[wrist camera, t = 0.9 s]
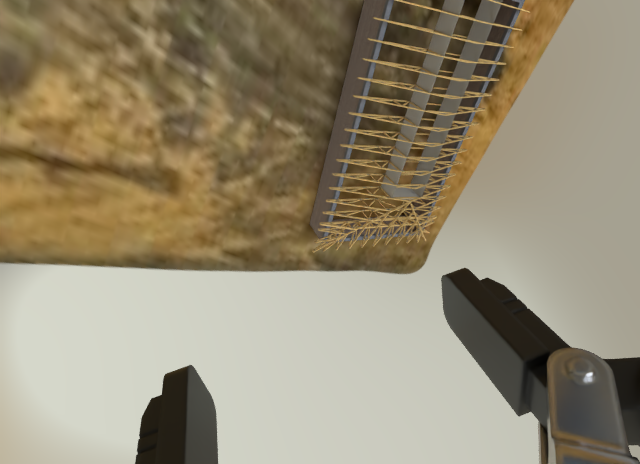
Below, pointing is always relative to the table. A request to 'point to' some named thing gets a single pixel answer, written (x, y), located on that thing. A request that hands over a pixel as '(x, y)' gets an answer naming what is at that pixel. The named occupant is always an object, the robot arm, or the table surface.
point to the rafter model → (408, 120)
